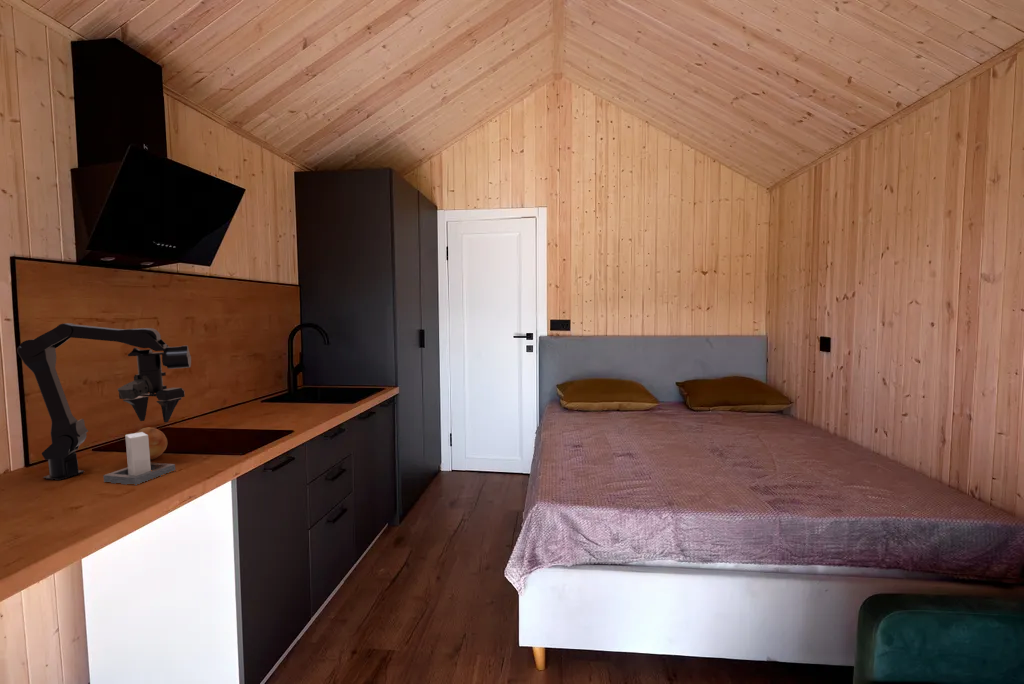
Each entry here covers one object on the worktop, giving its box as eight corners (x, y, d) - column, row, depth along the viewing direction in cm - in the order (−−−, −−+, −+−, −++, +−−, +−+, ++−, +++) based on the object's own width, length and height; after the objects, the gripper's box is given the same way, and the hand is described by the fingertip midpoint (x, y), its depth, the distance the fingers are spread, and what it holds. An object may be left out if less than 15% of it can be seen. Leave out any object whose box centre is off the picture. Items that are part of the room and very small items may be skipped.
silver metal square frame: (103, 482, 134) (103, 475, 133) (144, 468, 145) (144, 461, 144) (136, 485, 131) (135, 478, 130) (175, 470, 142) (174, 464, 141)
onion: (121, 464, 149) (118, 432, 148) (147, 454, 159) (144, 424, 158) (151, 464, 148) (148, 432, 147) (175, 454, 158) (173, 423, 157)
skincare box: (152, 476, 137) (148, 434, 136) (133, 481, 134) (129, 438, 133) (146, 472, 141) (142, 431, 140) (128, 476, 138) (124, 434, 137)
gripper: (97, 373, 141) (102, 427, 142) (148, 374, 136) (152, 429, 138) (136, 368, 152) (140, 418, 153) (184, 369, 147) (188, 420, 148)
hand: (154, 421), depth 148 cm, fingers open, 9 cm apart
